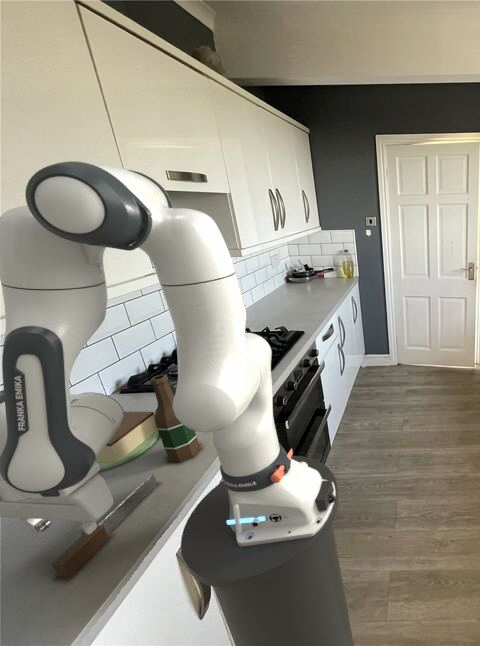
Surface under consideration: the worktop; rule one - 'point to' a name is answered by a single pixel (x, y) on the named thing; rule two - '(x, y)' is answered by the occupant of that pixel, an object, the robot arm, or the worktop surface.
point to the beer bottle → (172, 424)
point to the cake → (129, 439)
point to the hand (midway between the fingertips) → (66, 529)
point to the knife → (100, 532)
